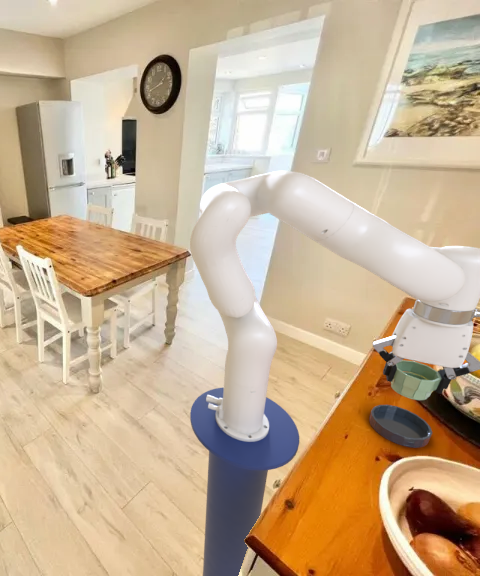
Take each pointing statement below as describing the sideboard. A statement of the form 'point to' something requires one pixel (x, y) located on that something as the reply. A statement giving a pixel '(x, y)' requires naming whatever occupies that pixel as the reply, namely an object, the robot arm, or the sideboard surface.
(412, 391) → the top bowl
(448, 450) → the sideboard surface
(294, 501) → the sideboard surface
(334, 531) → the sideboard surface
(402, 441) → the bottom bowl
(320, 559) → the sideboard surface
